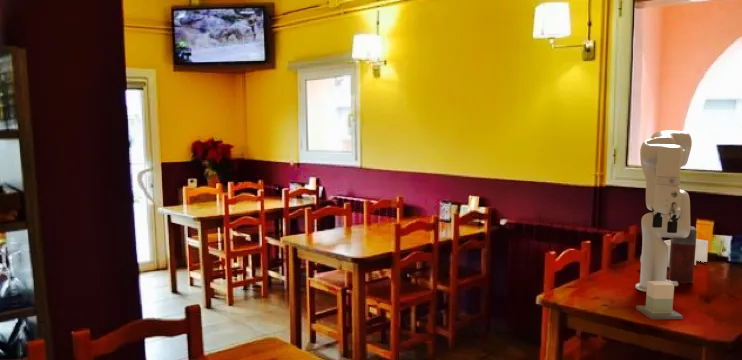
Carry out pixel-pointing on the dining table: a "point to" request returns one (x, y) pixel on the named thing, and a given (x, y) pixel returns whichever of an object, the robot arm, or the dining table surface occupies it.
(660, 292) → the cream brick
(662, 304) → the sage brick
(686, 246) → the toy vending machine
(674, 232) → the robot arm
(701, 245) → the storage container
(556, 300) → the dining table surface
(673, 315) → the baseplate
